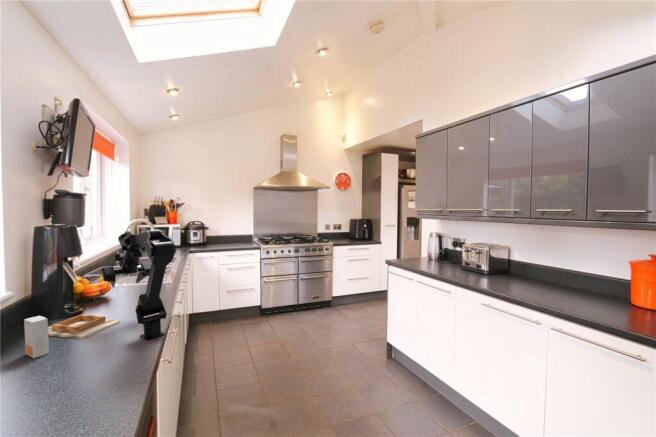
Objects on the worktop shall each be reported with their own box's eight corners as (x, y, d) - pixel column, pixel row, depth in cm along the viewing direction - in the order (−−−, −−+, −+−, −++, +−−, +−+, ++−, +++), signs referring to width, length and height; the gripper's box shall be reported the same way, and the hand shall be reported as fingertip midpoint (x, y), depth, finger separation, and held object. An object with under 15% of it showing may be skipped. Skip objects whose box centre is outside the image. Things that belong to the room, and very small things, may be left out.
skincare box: (25, 354, 103) (23, 319, 103) (41, 349, 107) (40, 315, 107) (33, 358, 101) (31, 322, 100) (49, 353, 104) (48, 318, 104)
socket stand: (119, 323, 131) (119, 315, 130) (82, 339, 115) (82, 330, 115) (77, 319, 135) (77, 311, 135) (36, 333, 120) (35, 325, 120)
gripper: (149, 243, 141) (142, 268, 148) (99, 248, 127) (94, 275, 133) (157, 260, 136) (150, 285, 142) (107, 266, 121) (101, 294, 128)
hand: (125, 284), depth 136 cm, fingers open, 9 cm apart
